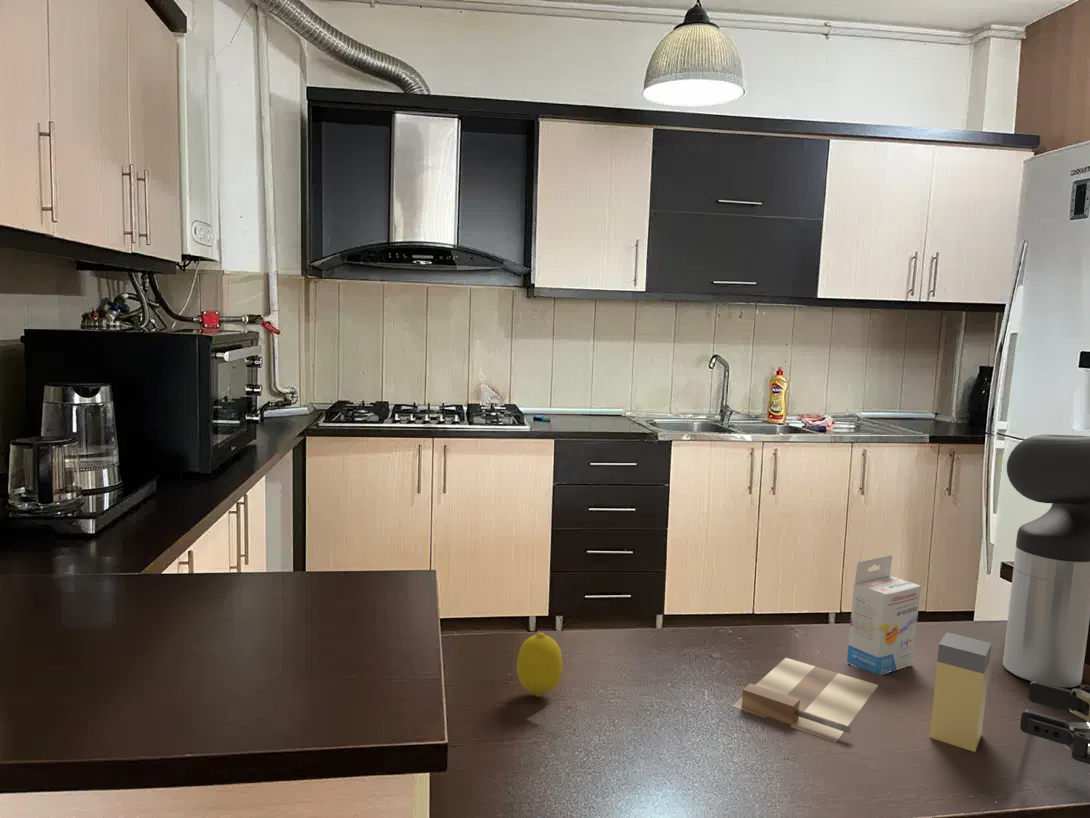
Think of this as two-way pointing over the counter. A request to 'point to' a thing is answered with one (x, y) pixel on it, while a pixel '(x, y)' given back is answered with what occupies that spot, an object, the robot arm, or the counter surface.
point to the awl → (781, 707)
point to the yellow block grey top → (960, 691)
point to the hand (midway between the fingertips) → (1025, 704)
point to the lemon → (539, 664)
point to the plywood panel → (817, 695)
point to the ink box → (882, 618)
